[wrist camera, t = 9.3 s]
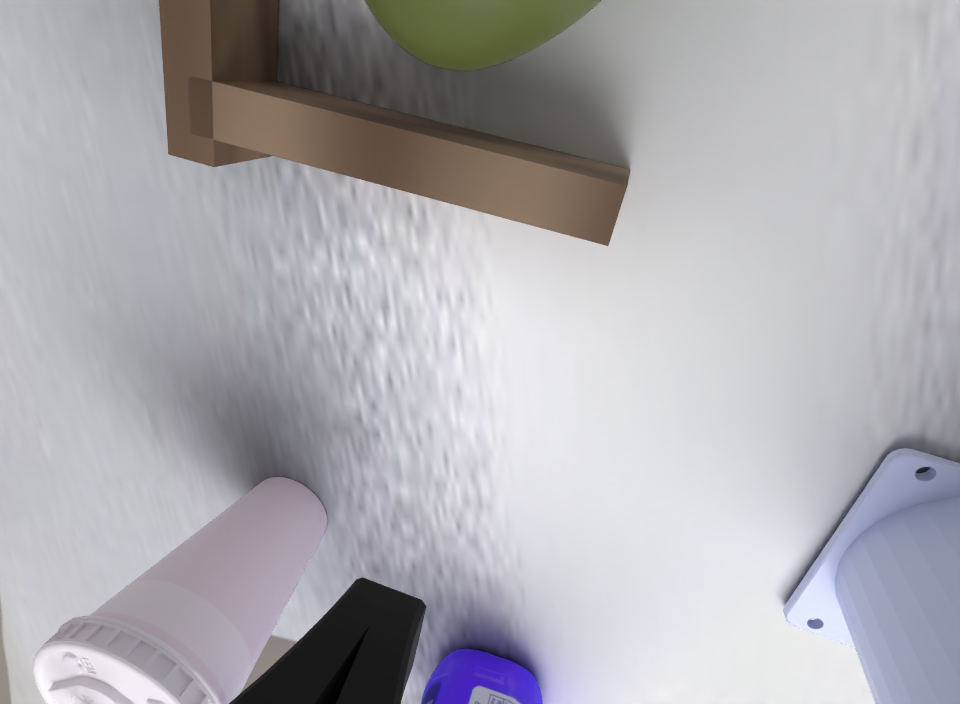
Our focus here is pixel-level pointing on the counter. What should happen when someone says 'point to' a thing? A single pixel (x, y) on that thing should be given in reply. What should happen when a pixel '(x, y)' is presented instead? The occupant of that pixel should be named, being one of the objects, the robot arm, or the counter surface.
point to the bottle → (480, 681)
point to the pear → (475, 28)
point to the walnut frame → (358, 129)
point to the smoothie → (191, 610)
